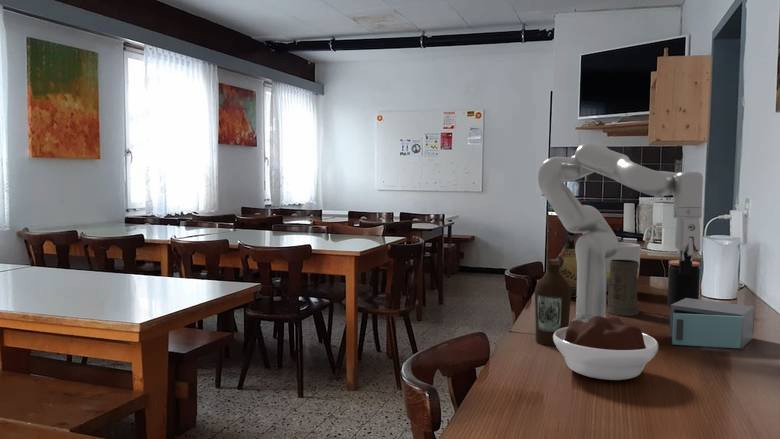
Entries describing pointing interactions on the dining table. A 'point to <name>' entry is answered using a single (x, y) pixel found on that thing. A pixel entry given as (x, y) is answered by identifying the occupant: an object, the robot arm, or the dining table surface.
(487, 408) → the dining table surface
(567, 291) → the olive oil
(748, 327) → the grey cabinet
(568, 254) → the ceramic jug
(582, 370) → the white dessert bowl
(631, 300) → the beer stein
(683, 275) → the coffee jar
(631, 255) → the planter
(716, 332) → the side door
